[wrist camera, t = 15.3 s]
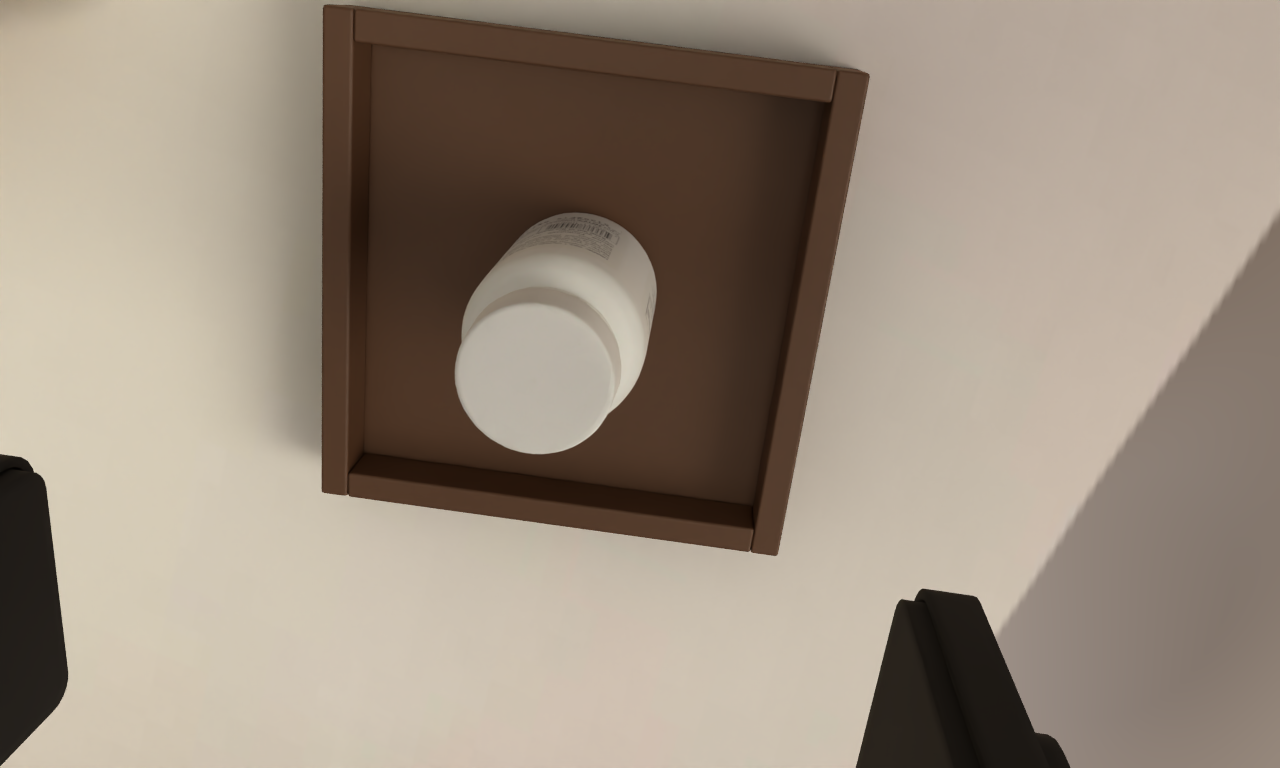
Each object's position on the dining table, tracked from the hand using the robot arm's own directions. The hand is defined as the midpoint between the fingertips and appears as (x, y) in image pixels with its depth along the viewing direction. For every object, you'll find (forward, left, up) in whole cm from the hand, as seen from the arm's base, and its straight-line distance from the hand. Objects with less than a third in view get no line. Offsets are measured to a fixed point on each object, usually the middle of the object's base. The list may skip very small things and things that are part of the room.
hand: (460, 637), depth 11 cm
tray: (+1, +1, -19) cm, 19 cm away
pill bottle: (+1, +1, -18) cm, 18 cm away
